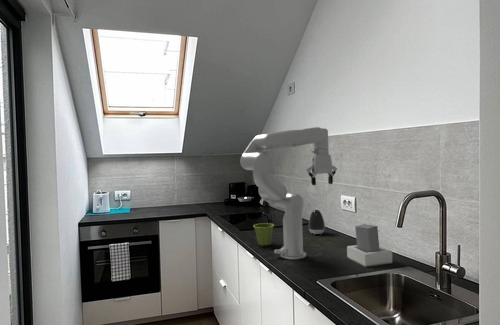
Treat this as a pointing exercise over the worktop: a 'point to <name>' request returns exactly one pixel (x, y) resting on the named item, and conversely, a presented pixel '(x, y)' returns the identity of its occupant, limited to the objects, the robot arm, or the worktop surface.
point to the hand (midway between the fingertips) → (322, 184)
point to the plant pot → (264, 233)
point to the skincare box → (367, 238)
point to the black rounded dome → (316, 222)
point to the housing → (369, 256)
